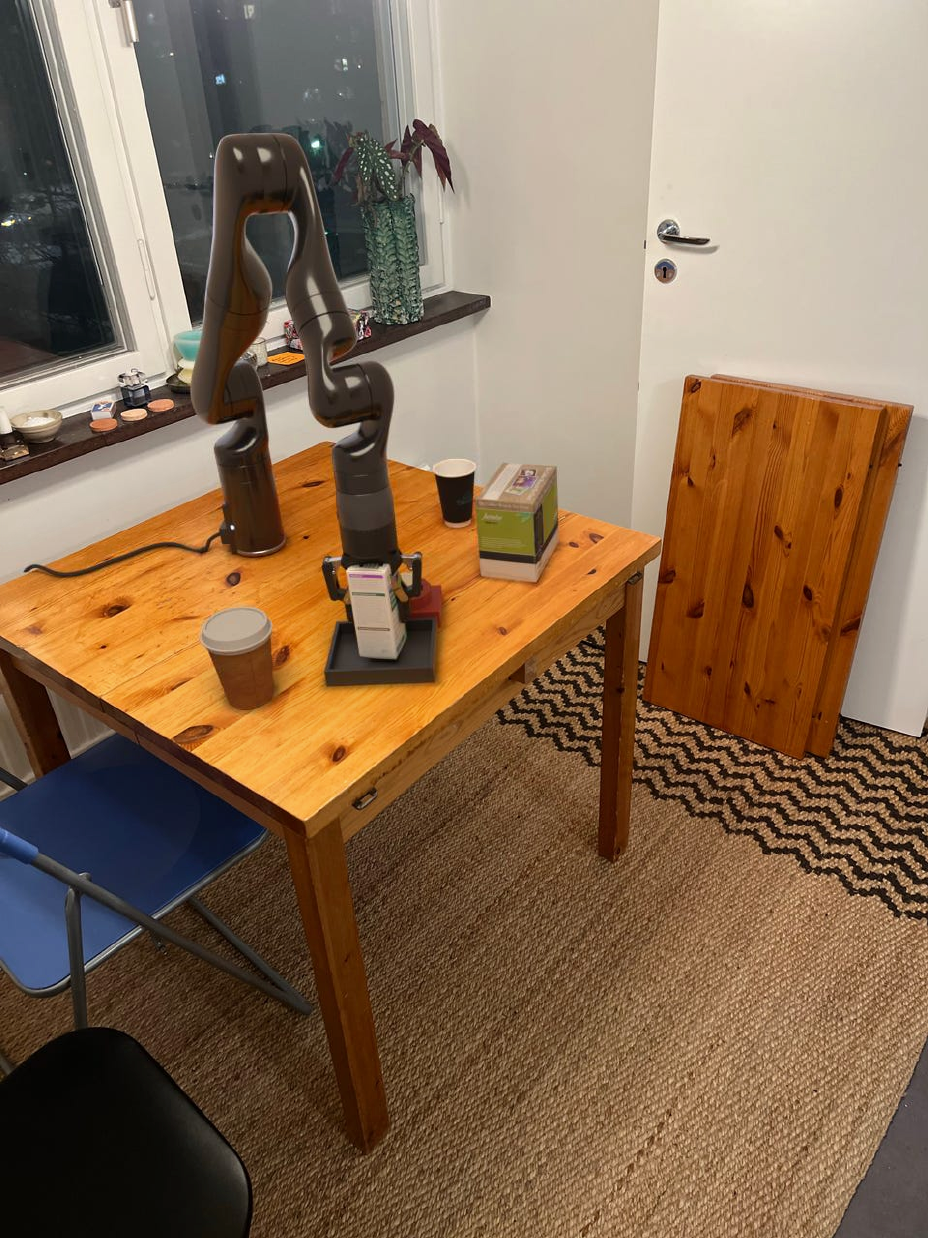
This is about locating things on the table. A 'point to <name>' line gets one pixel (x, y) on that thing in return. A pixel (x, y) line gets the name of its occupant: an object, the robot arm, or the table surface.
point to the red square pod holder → (427, 602)
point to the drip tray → (408, 667)
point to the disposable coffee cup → (241, 654)
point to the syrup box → (375, 611)
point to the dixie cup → (455, 490)
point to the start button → (407, 578)
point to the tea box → (517, 522)
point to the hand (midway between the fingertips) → (379, 621)
